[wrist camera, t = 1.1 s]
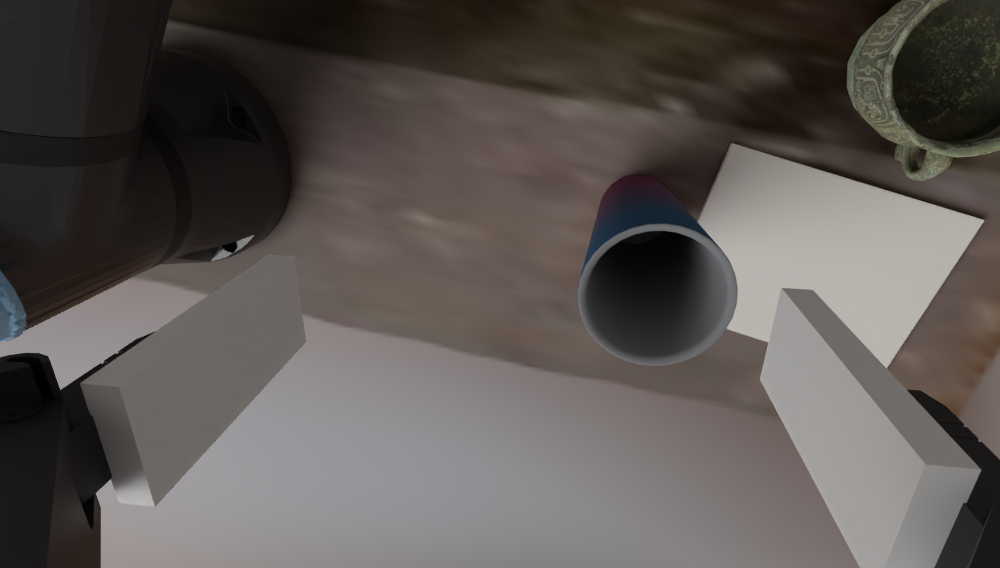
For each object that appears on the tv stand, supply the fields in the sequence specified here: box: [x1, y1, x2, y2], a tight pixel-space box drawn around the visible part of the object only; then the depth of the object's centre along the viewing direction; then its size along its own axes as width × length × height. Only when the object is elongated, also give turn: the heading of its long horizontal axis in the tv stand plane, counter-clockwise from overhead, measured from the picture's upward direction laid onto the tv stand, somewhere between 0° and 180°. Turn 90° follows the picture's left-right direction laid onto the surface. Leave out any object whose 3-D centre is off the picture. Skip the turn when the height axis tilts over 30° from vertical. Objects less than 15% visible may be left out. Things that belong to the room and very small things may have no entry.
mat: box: [697, 143, 985, 368], centre depth 38 cm, size 16×12×1 cm
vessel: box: [846, 0, 1000, 181], centre depth 30 cm, size 12×9×6 cm
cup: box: [578, 175, 738, 366], centre depth 32 cm, size 7×7×15 cm
